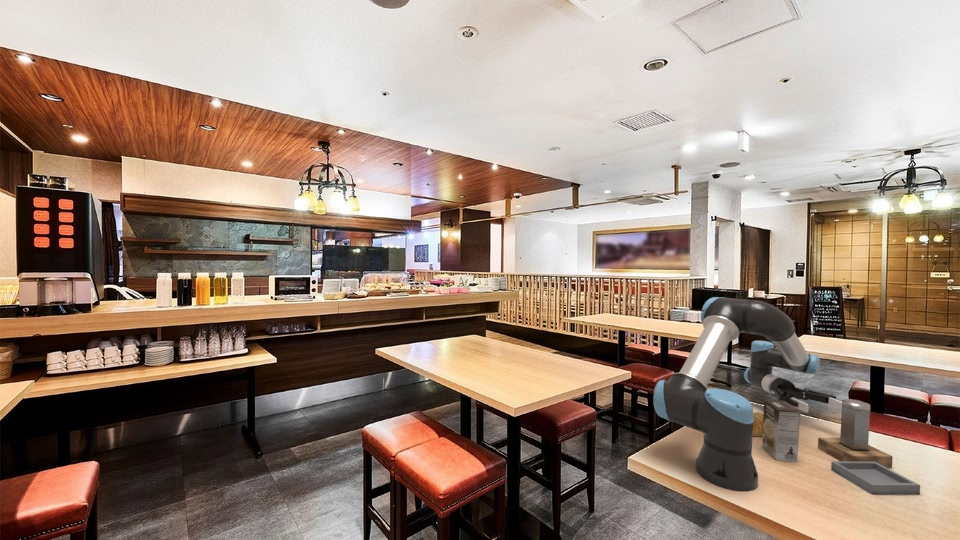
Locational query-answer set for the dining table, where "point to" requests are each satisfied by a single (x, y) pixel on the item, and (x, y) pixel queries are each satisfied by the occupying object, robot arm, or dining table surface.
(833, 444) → the block
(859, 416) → the pin
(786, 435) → the coffee box
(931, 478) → the dining table surface
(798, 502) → the dining table surface
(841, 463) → the tray
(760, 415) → the croissant
